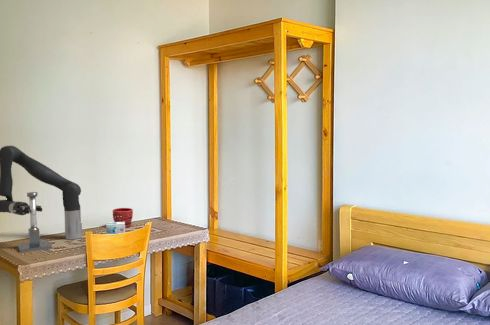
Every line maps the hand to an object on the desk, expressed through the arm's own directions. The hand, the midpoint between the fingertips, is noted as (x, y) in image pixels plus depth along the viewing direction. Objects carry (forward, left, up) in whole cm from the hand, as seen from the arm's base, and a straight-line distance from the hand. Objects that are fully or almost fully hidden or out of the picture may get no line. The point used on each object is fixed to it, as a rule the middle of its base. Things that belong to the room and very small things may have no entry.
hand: (35, 210), depth 256 cm
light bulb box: (-42, +8, -21) cm, 48 cm away
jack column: (+1, -2, -14) cm, 14 cm away
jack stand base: (+1, -2, -21) cm, 21 cm away
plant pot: (-57, -30, -21) cm, 68 cm away
